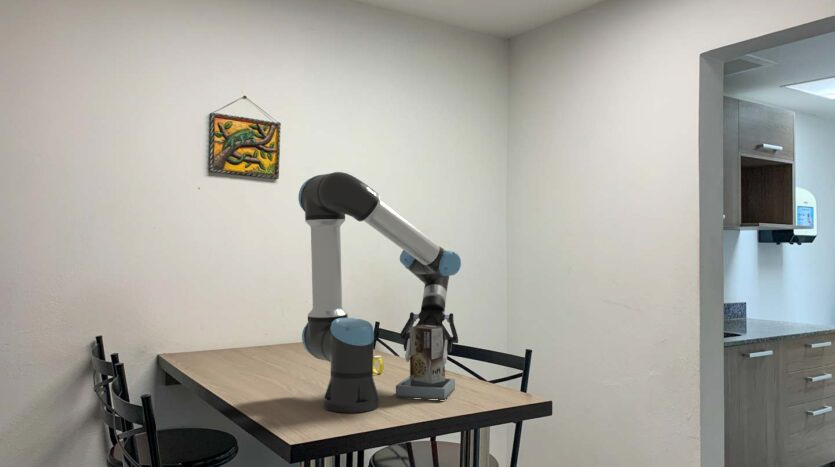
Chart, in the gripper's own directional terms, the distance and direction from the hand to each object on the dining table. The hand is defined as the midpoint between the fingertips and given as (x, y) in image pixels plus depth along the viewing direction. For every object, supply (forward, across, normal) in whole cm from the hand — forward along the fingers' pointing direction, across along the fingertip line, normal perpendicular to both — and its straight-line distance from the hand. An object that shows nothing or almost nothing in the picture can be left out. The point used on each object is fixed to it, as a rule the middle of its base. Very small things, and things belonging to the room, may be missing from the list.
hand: (425, 359), depth 181 cm
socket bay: (+6, 0, -9) cm, 11 cm away
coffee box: (+3, 0, -7) cm, 7 cm away
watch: (-13, +22, -29) cm, 38 cm away
